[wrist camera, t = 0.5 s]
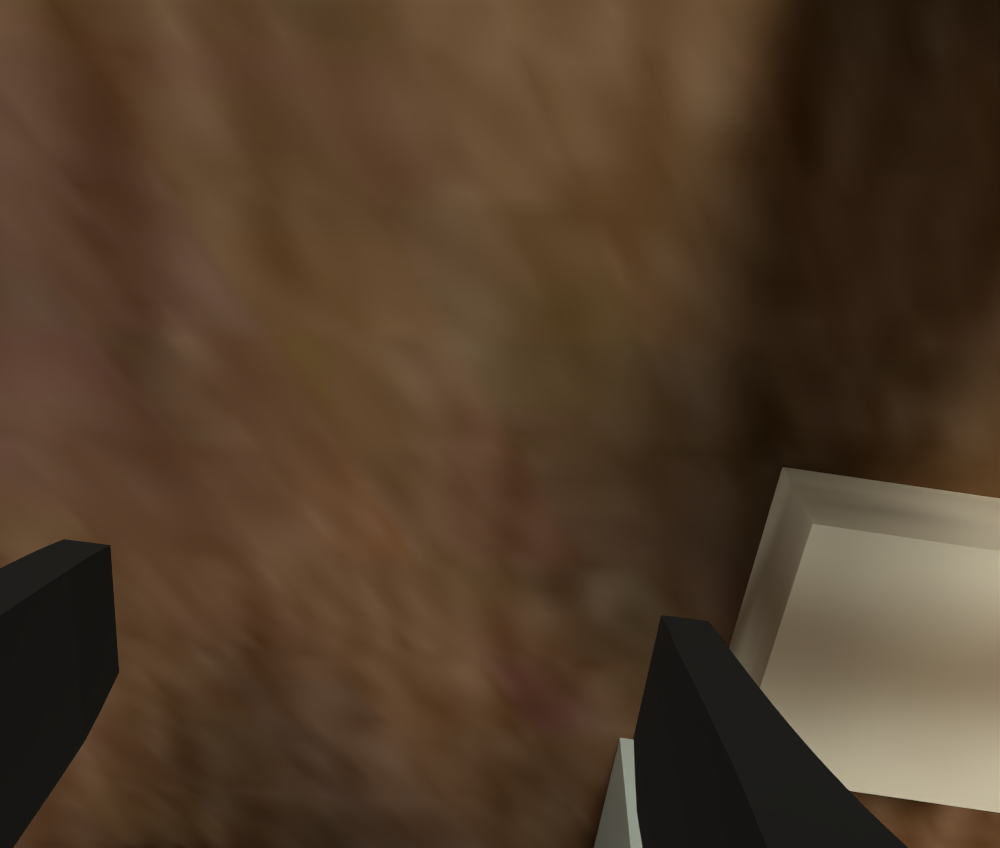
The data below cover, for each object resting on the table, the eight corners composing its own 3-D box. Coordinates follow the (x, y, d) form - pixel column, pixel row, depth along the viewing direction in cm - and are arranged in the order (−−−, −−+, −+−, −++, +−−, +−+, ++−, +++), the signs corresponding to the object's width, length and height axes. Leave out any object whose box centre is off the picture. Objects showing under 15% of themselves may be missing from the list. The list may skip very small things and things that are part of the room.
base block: (966, 726, 24) (1019, 815, 21) (711, 689, 24) (732, 773, 21) (1067, 502, 21) (1143, 572, 18) (779, 460, 21) (812, 523, 18)
